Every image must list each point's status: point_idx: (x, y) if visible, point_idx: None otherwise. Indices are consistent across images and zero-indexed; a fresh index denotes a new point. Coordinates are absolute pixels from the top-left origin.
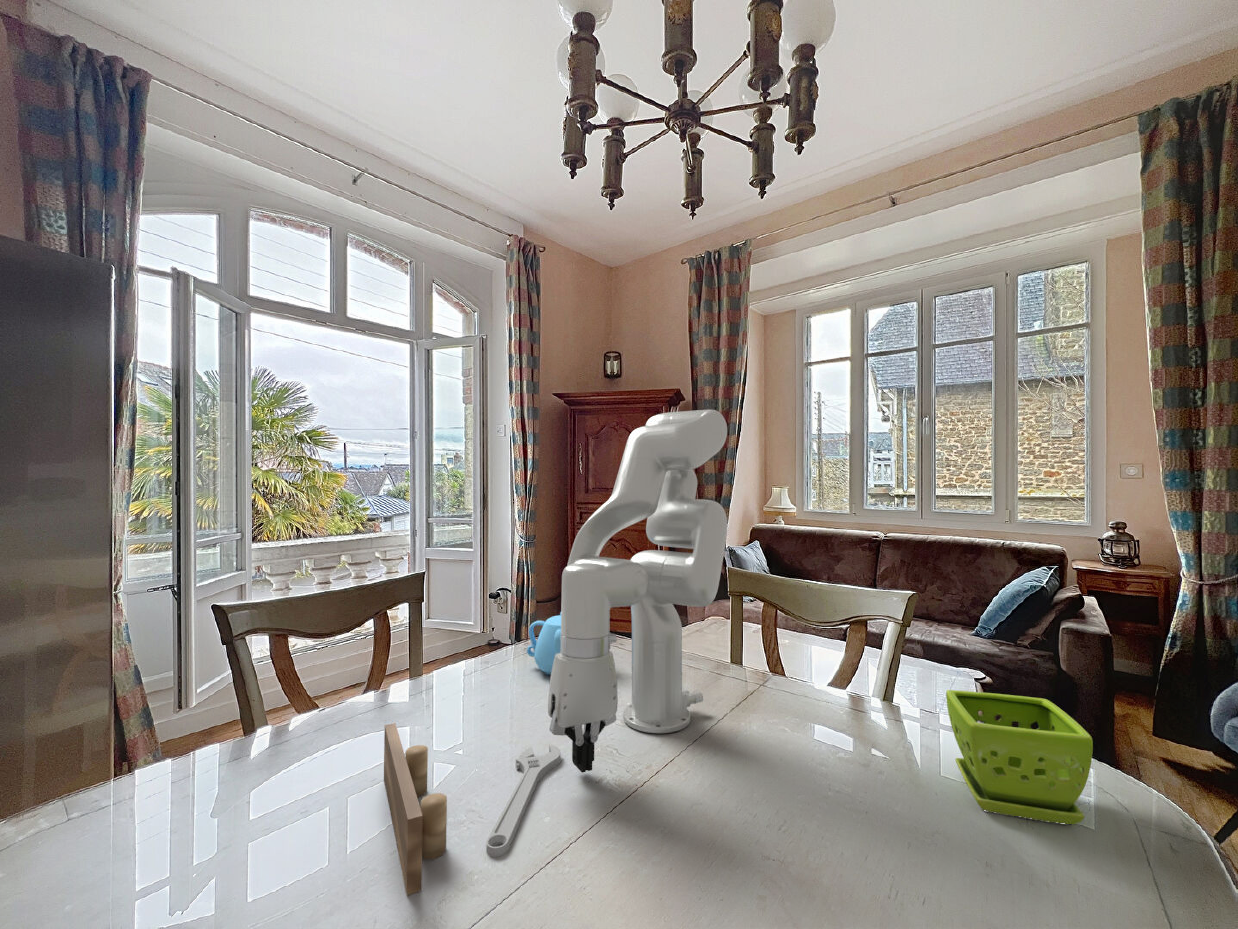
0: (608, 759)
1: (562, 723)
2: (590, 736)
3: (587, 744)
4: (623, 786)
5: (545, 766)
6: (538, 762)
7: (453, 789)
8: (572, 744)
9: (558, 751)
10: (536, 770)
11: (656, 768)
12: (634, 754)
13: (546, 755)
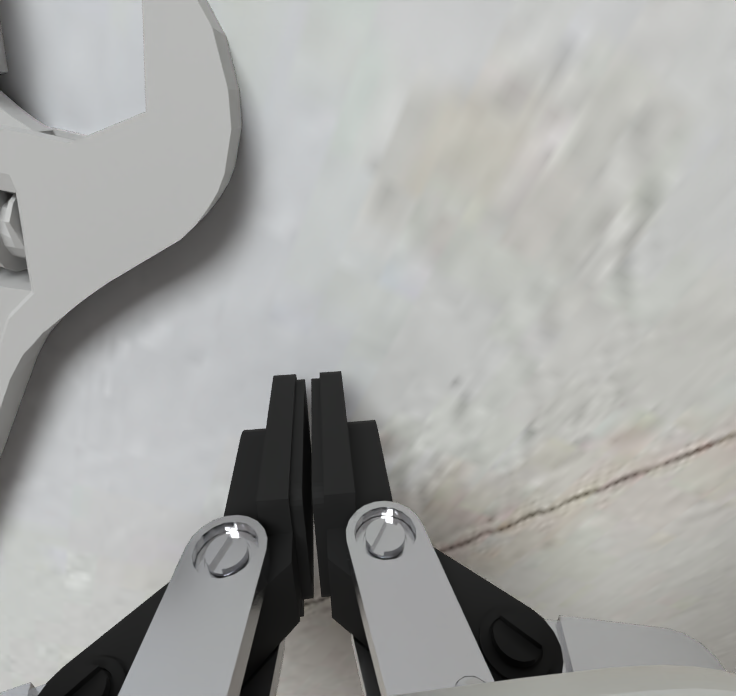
0: (524, 299)
1: None
2: (354, 652)
3: (324, 594)
4: (440, 512)
5: (75, 305)
6: (15, 239)
7: None
8: (225, 513)
9: (210, 146)
10: (3, 329)
11: (646, 456)
12: (677, 313)
13: (92, 160)
